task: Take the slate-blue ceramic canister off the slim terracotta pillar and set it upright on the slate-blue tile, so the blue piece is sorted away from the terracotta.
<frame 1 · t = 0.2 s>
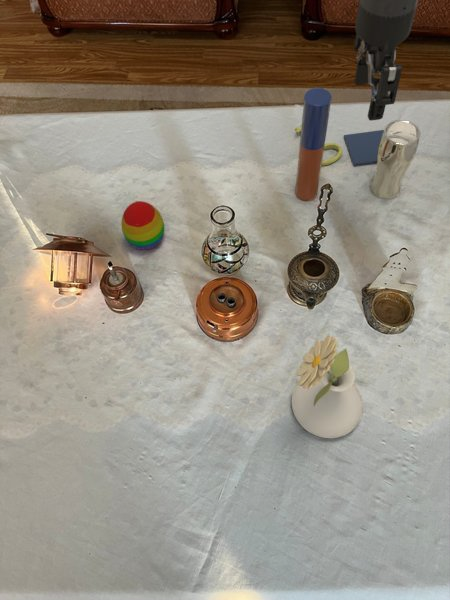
hand: (367, 100, 83), 27 cm above the table, tool pointing down, fingers open, 8 cm apart
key: (317, 148, 116), on the table
blue canister: (312, 141, 98), point 14 cm above the table, touching terracotta pillar
terracotta pillar: (306, 192, 110), on the table
blue tile: (368, 149, 115), on the table
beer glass: (384, 188, 110), on the table
decorative egg: (146, 239, 106), on the table
flower in vase: (322, 410, 86), on the table
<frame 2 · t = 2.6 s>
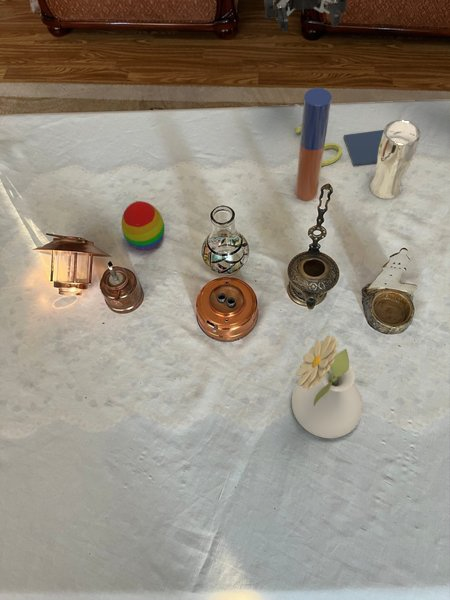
hand: (311, 24, 89), 30 cm above the table, tool horizontal, fingers open, 8 cm apart
nothing on the table moved.
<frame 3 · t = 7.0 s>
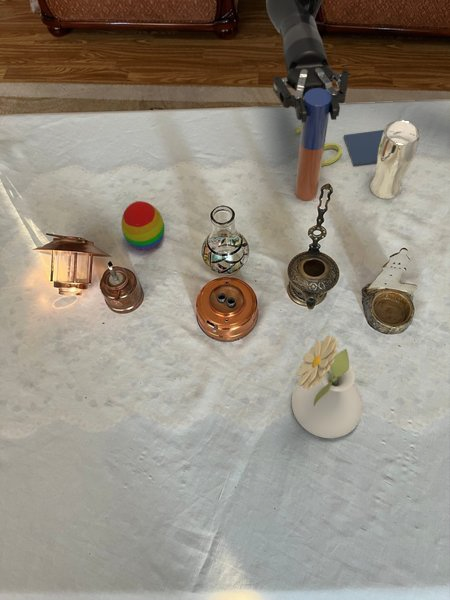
hand: (319, 116, 90), 22 cm above the table, tool horizontal, fingers closed on blue canister, 4 cm apart
blue canister: (312, 141, 98), point 14 cm above the table, touching gripper, terracotta pillar
everything else where it was.
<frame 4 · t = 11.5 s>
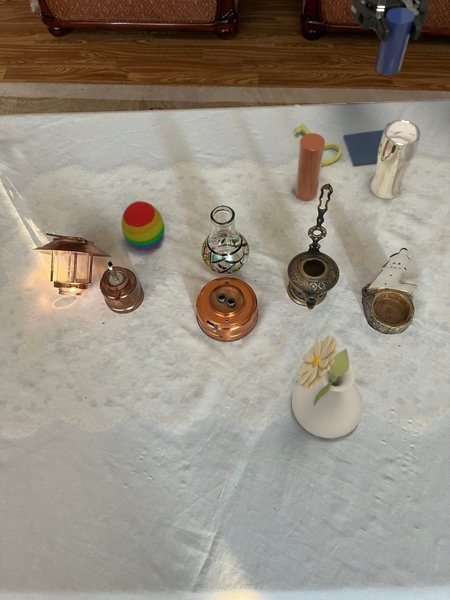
hand: (401, 35, 89), 28 cm above the table, tool horizontal, fingers closed on blue canister, 4 cm apart
blue canister: (387, 67, 98), point 20 cm above the table, touching gripper
everything else where it was.
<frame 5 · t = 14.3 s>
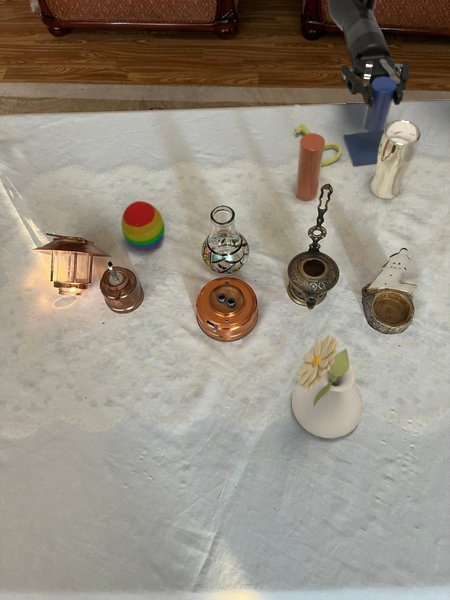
hand: (385, 102, 101), 15 cm above the table, tool horizontal, fingers closed on blue canister, 4 cm apart
blue canister: (373, 125, 110), point 7 cm above the table, touching gripper
everything else where it was.
when the fingers open (9 cm above the table, at t = 16.1 s): blue canister stays where it is, resting on blue tile.
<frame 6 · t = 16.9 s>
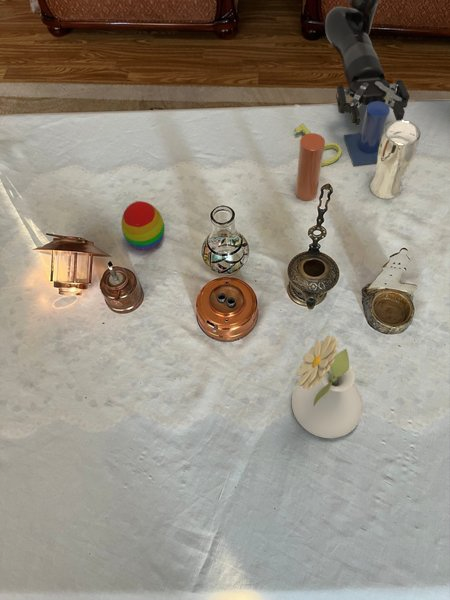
hand: (379, 120, 106), 10 cm above the table, tool horizontal, fingers open, 8 cm apart
blue canister: (368, 146, 115), point 1 cm above the table, touching blue tile
everything else where it was.
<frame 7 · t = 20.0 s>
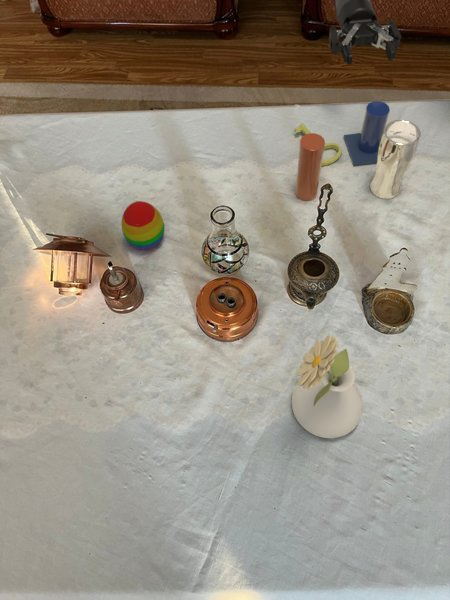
hand: (371, 59, 107), 15 cm above the table, tool horizontal, fingers open, 8 cm apart
nothing on the table moved.
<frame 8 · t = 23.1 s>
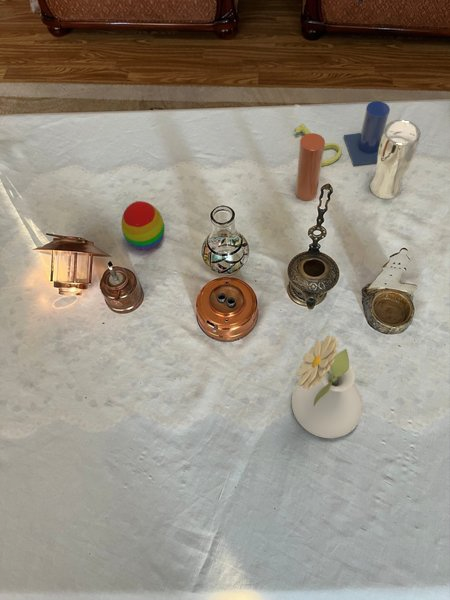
nothing on the table moved.
at the end: blue canister inside the target area on the blue tile (0.1 cm from its centre), point 0.8 cm above the blue tile's base; blue canister tilted 0° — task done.
